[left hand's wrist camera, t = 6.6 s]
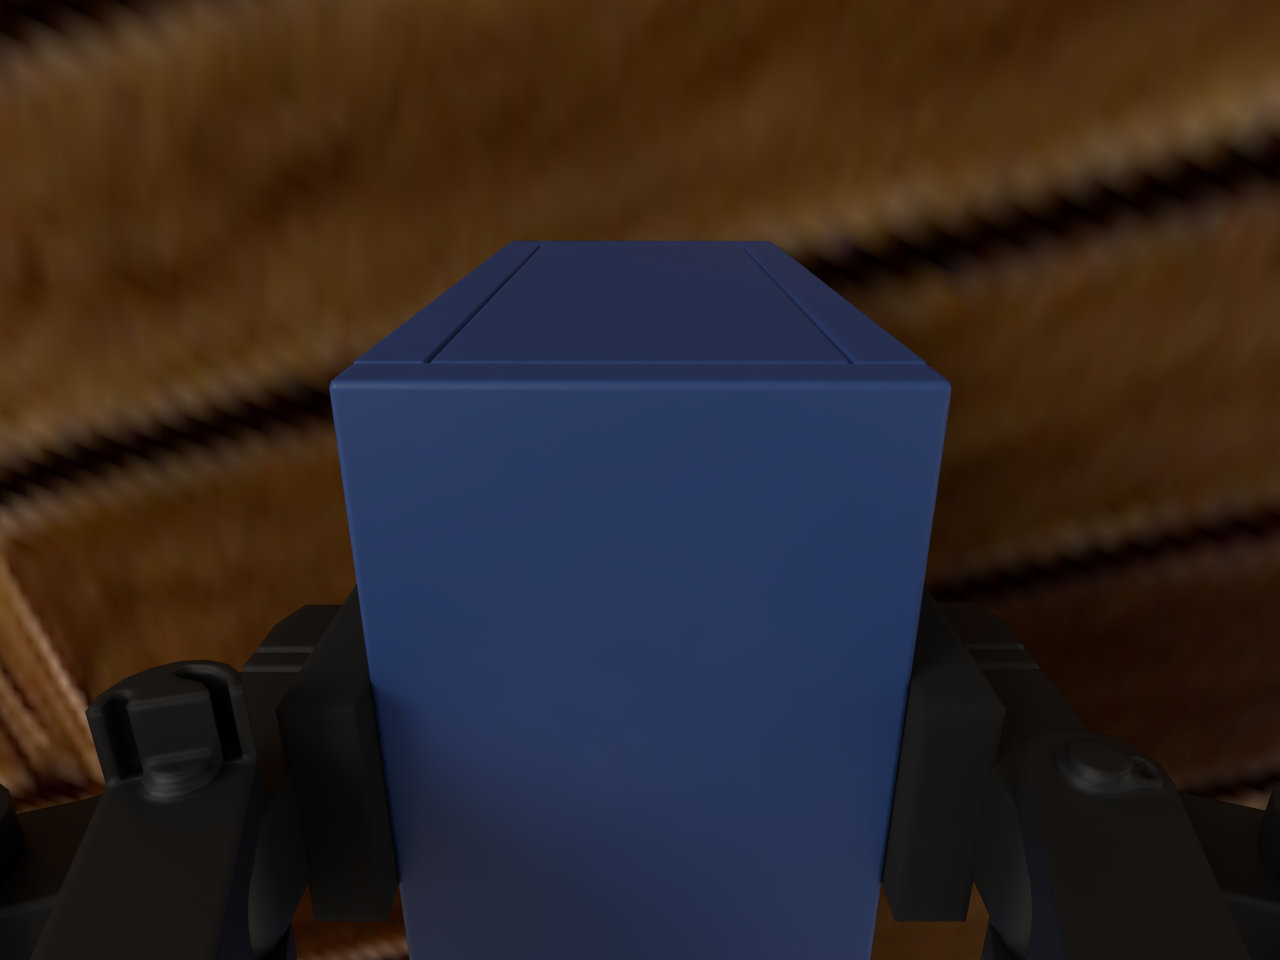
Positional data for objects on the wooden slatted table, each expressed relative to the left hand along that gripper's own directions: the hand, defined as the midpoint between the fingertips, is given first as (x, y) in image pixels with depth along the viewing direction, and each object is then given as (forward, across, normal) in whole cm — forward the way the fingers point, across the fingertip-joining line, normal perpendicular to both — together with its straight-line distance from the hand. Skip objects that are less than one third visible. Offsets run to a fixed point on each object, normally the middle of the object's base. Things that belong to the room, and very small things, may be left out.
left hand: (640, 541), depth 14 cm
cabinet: (+5, 0, -5) cm, 7 cm away
